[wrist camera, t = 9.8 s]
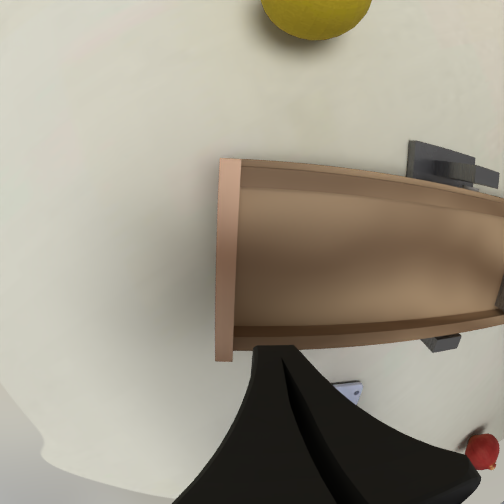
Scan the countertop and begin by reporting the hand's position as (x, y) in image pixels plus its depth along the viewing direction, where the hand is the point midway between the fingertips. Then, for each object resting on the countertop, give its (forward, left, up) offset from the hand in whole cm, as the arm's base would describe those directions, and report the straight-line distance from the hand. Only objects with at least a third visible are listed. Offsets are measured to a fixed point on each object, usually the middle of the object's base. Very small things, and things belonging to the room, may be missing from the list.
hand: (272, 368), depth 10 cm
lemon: (+16, -2, -10) cm, 19 cm away
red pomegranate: (-28, -36, -10) cm, 47 cm away
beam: (+2, -11, -7) cm, 13 cm away
